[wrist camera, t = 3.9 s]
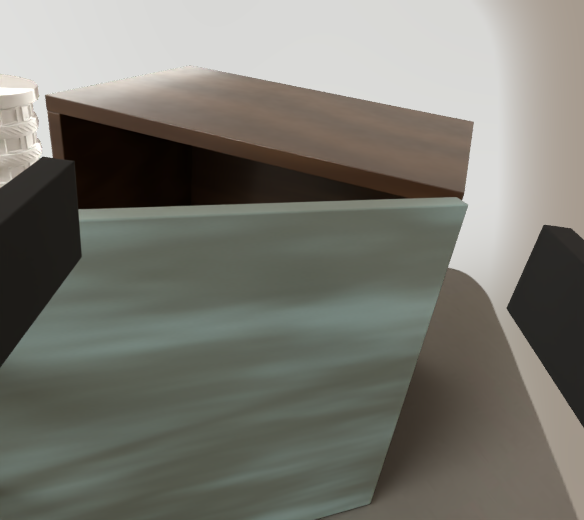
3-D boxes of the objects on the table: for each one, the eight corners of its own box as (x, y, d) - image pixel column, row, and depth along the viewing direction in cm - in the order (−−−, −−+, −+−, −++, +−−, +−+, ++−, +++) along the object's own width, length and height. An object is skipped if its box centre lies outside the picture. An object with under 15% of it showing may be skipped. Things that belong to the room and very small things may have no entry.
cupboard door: (413, 586, 31) (561, 265, 19) (-82, 768, 22) (-372, 363, 10) (364, 492, 37) (456, 196, 25) (-50, 605, 27) (-216, 218, 15)
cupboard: (369, 490, 37) (464, 192, 25) (78, 377, 43) (44, 94, 31) (403, 349, 52) (473, 121, 40) (185, 280, 58) (189, 65, 46)
